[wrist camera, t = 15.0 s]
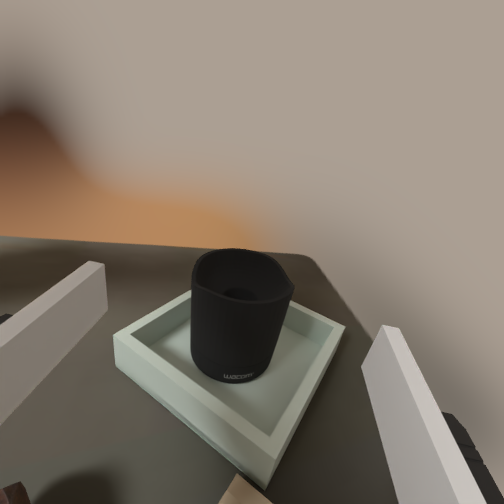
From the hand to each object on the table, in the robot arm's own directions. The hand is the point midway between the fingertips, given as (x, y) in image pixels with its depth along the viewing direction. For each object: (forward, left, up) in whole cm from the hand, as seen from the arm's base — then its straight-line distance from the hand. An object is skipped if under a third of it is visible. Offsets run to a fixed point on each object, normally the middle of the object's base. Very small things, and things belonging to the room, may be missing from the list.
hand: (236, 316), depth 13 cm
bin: (-5, +11, -15) cm, 19 cm away
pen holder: (-6, +10, -15) cm, 19 cm away
